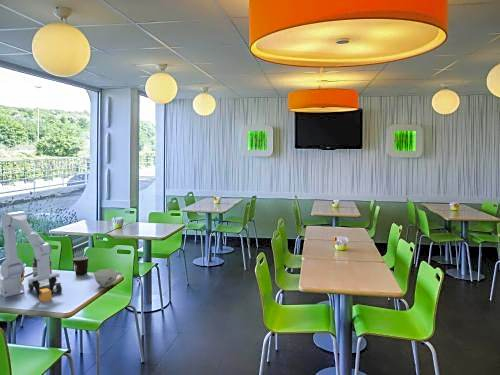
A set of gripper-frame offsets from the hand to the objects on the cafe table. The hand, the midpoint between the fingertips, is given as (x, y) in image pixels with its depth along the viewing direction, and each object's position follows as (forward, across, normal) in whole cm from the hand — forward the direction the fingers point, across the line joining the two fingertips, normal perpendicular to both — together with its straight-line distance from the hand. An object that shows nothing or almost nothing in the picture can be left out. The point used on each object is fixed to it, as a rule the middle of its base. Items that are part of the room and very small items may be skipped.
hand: (44, 293), depth 218 cm
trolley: (+3, +4, +14) cm, 15 cm away
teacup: (+3, +34, -1) cm, 34 cm away
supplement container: (+3, +14, +45) cm, 47 cm away
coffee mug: (+3, +32, +31) cm, 44 cm away
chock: (+3, 0, 0) cm, 3 cm away
